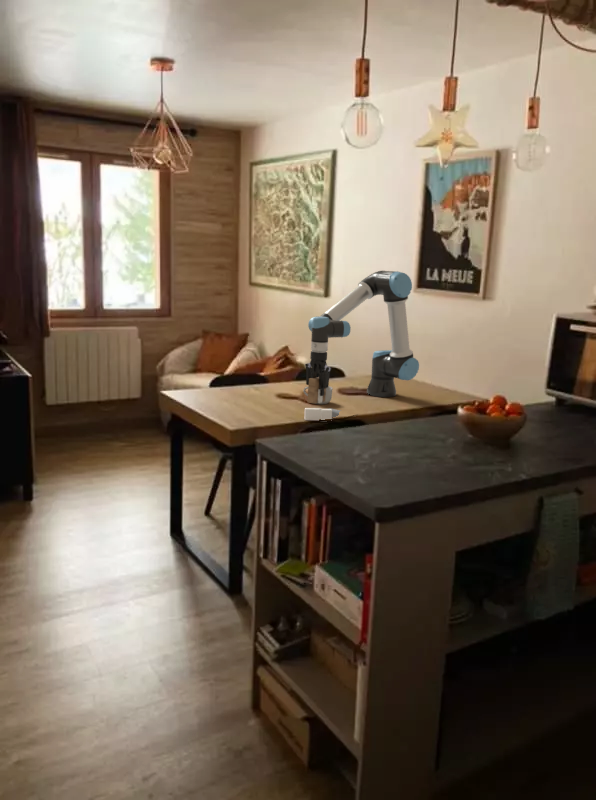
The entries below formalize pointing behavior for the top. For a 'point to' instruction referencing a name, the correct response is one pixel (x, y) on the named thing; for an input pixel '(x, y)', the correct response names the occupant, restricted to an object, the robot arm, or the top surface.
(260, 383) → the top surface
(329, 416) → the napkin holder
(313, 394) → the walnut slab
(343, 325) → the robot arm
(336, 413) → the felt mat
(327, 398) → the teacup
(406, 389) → the top surface
